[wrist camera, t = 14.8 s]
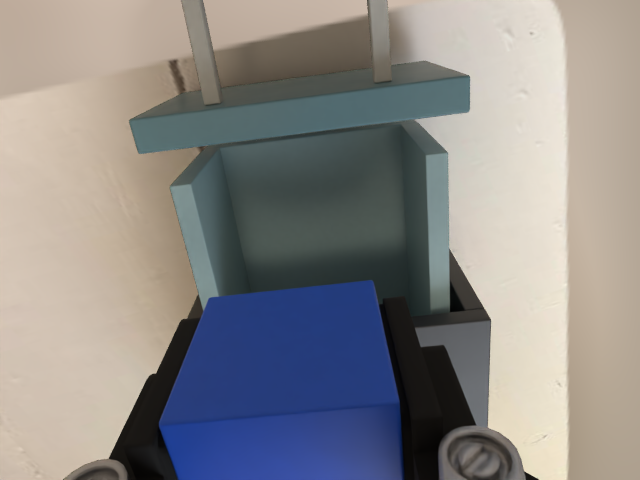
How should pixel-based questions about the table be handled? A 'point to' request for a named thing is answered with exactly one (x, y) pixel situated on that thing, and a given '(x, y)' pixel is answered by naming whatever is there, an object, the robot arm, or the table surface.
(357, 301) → the blue block
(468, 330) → the dark grey drawer cabinet
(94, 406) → the table surface
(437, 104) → the drawer
